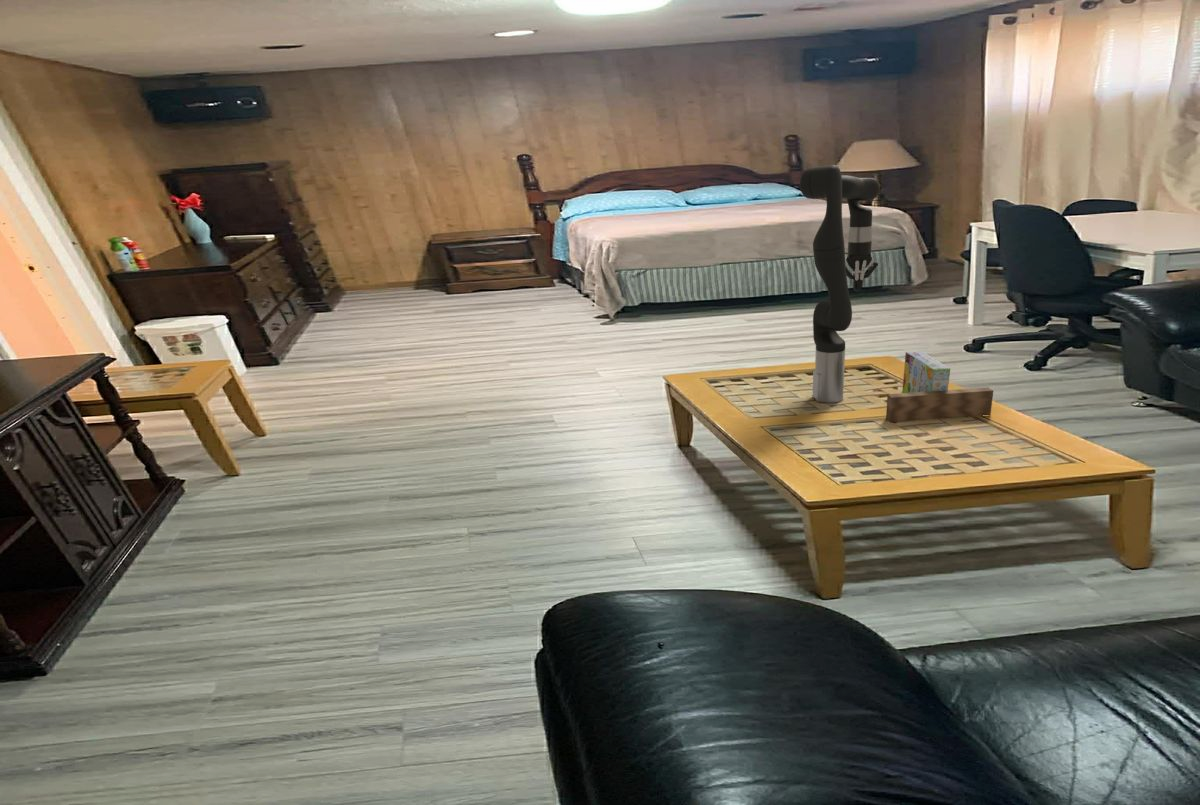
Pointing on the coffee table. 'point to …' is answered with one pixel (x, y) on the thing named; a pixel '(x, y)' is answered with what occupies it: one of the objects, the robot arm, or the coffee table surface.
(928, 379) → the snack box
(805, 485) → the coffee table surface
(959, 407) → the board
